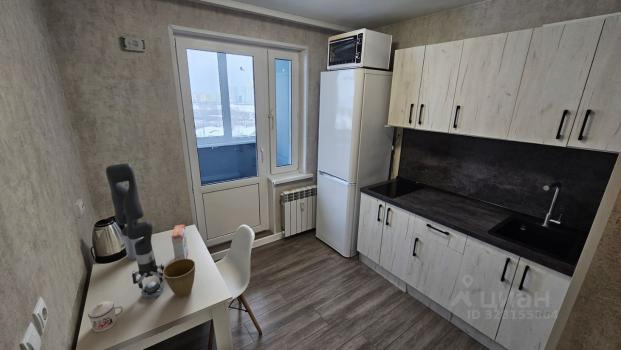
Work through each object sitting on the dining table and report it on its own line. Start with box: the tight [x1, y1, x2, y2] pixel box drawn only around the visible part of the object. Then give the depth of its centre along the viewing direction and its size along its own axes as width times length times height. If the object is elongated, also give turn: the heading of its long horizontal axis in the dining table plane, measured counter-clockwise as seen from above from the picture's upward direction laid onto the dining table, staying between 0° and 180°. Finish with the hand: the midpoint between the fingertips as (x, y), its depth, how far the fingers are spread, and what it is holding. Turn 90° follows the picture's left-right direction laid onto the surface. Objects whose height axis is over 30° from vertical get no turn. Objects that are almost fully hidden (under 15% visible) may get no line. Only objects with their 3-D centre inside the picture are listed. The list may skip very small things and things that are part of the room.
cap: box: [144, 280, 159, 294], centre depth 133 cm, size 6×6×5 cm
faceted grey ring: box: [141, 281, 164, 300], centre depth 134 cm, size 10×10×3 cm
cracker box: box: [171, 224, 189, 261], centre depth 159 cm, size 14×6×21 cm, turn 19°
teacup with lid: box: [87, 300, 124, 333], centre depth 114 cm, size 12×9×12 cm
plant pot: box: [163, 258, 196, 299], centre depth 132 cm, size 15×15×16 cm
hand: (151, 285), depth 133 cm, fingers open, 8 cm apart
